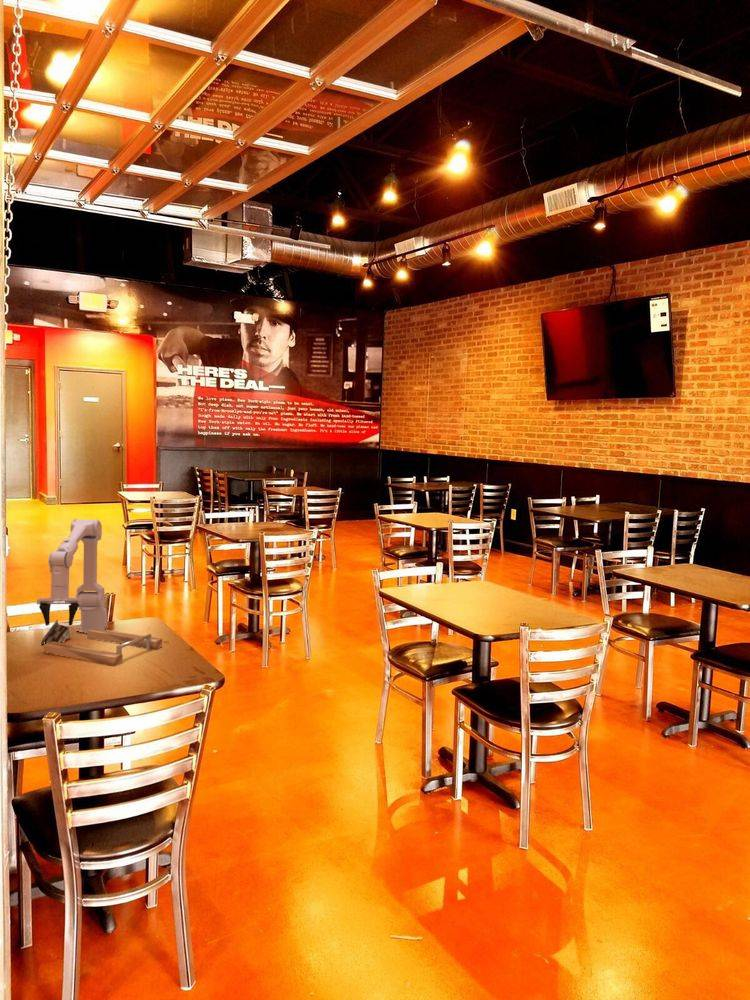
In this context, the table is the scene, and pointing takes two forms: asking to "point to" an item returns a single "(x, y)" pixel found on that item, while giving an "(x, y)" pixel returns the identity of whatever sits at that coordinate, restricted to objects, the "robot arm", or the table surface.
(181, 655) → the table surface
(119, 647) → the hook bar
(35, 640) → the table surface
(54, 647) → the shelf board
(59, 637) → the chocolate cake
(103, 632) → the shelf board
